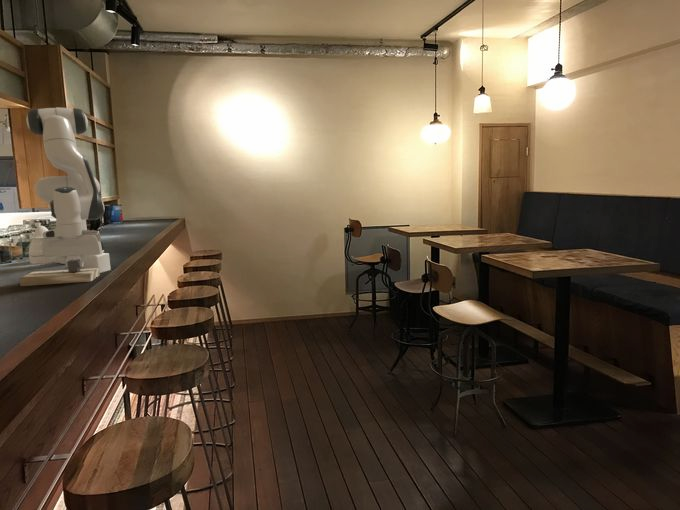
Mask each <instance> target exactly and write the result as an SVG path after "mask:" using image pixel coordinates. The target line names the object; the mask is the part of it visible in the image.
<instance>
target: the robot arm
mask: <svg viewBox="0 0 680 510" xmlns="http://www.w3.org/2000/svg"><path fill="white" fill-rule="evenodd" d="M25 120H26V126H27V128H28V129H29V131H30V132H31V134H32V133H33V135H36V136H42V139H43V140H42V142H43V149H44V153H45V156H46V158H47V159H48V161H49V162H50V164H51V165H52V166H53V168H56V169H57V170H60V171H63V172H65V173H66V174H67V175H59V176H58V175H54V176H53V175H52V176H51V175H50V176H47V177H41V178H39V179H37V181H36V183H35V186H34V190H35V193H36V196H37V197H38V198H39V199H40V200H42V201H44V202H45V203H46V204H48V205H49V206H50V213H51V217H53V218H54V219H55V227H54V228H51V229H48V230H49V231H46V232H44V233H43V237H44V238H45V239H43V241H42V254H43V256H44V257H58V260H55V262H54V264H55V263H56V264H64V265H65V266H64V267H65V269H68V263H67V262H68V261H70V260H72V259H80V262H79V263H78V267H81V268H84V264H83V262H84V260H85V258H86V255H96V254H100V253H101V252H102V246H101V243H102V242H101V239H102V238H101V237H102V236H101V233H100V231H97V230H96V229H91V230H90V229H88V228H87V227H88V225H87V220H88V221H97V220H99V219H101V218H102V217H103V216H104V214H105V210H106V209H105V204H104V201H103V198H102V197H101V194H100V193H101V192H100V191H101V184H100V182H99V181H98V179H97V178H96V177H95V176H94V174H93V171H92V167H91V165H90V163H89V159H88V158H87V157H86V156H85V155H84V154H82V153H80V152H79V150H78V147H77V140H76V137H75V135H78V136H79V135H83V134H84V133H86V132H87V129H88V127H89V120H88V116H87V115H86V114H85V112H84V110H83V109H80V108H77V107H74V108H70V107H57V106H56V107H45V108H32V109H30V110H28V112H27V114H26V119H25Z"/></svg>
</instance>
